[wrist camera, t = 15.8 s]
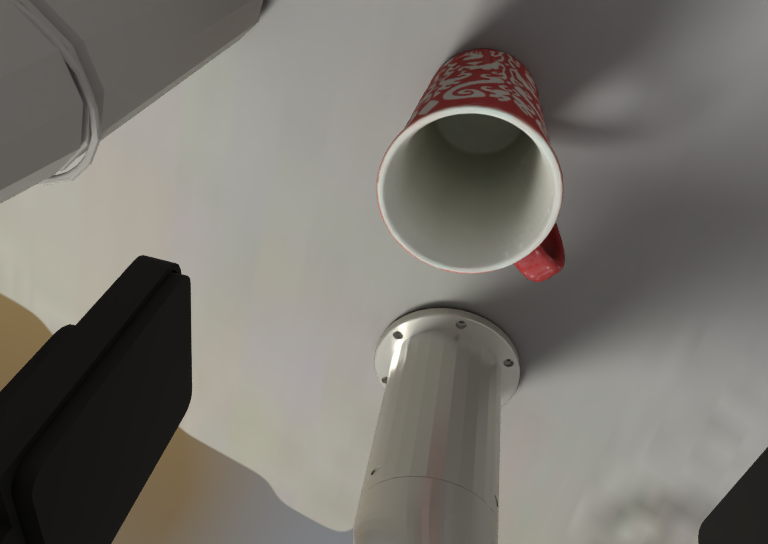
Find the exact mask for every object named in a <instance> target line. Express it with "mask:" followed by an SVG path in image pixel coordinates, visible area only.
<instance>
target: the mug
mask: <svg viewBox="0 0 768 544" xmlns="http://www.w3.org/2000/svg"><path fill="white" fill-rule="evenodd" d="M377 199H378V205H379V209H380V212H381V215H382V218H383V220H384V223H385V224H386V226H387V228H388V229H389V231H390V233H391V234H392V236H393V237H394V238H395V240H396V241H397V242H398V243H399V244H400V245H401V246H402V247H403V248H404V249H405V250H406V251H408V252H409V253H410V254H412V255H413V256H414V257H416V258H417V259H419V260H421V261H423V262H424V263H426V264H428V265H431V266H433V267H436V268H439V269H441V270H445V271H450V272H456V273H483V272H490V271H494V270H498V269H501V268H504V267H507V266H509V265H512V264H515V266H516V267H517V268H518V269H519V271H520V272H521V273H522V274H523V275H524V276H526V277H527V278H528V279H530V280H532V281H534V282H541V281H544V280H547V279H549V278H550V277H552V276H554V275H555V274H557V273H558V272H559V271H561V269H562V268H563V266H564V262H565V254H564V248H563V243H562V239H561V236H560V233H559V230H558V227H557V224H556V221H557V218H558V216H559V212H560V209H561V204H562V199H563V178H562V172H561V168H560V165H559V162H558V159H557V157H556V155H555V153H554V151H553V149H552V147H551V145H550V140H549V136H548V133H547V129H546V126H545V121H544V117H543V113H542V109H541V105H540V101H539V95H538V91H537V88H536V85H535V83H534V80H533V78H532V76H531V75H530V73H529V71H528V70H527V69H526V68H525V66H524V65H523V64H522V63H521V62H519V61H518V60H517V59H515V58H514V57H512V56H511V55H509V54H506V53H504V52H501V51H498V50H494V49H474V50H469V51H466V52H463V53H461V54H458V55H456V56H455V57H453V58H452V59H450V60H449V61H447V62H446V63H445V64H444V65H443V66H442V67H441V68H440V69H439V70H438V71H437V73H436V74H435V76H434V77H433V79H432V81H431V82H430V84H429V86H428V88H427V90H426V91H425V92H424V94H423V96H422V98H421V99H420V101H419V103H418V105H417V107H416V109H415V110H414V112H413V114H412V116H411V118H410V120H409V121H408V123H407V125H406V126H405V128H404V130H403V131H402V132H401V133H400V134H399V135H398V136H397V137H396V138H395V140H394V141H393V142H392V144H391V145H390V146H389V148H388V150H387V152H386V153H385V156H384V158H383V160H382V163H381V165H380V169H379V172H378V178H377Z"/></svg>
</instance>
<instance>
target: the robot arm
mask: <svg viewBox="0 0 768 544" xmlns="http://www.w3.org/2000/svg"><path fill="white" fill-rule="evenodd" d="M374 369H375V372H376V376H377V379H378V381H379V383H380V384H381V386H382V388H383V389H384V390H385V391H384V396H383V400H382V404H381V409H380V413H379V417H378V421H377V426H376V430H375V434H374V439H373V443H372V447H371V452H370V456H369V460H368V465H367V469H366V473H365V477H364V482H363V486H362V490H361V495H360V499H359V503H358V508H357V512H356V517H355V522H354V544H498V512H499V464H500V415H501V407H503V406H504V405H505V404H506V403H507V402H508V401H509V400H510V399H511V398H512V396H513V394H514V393H515V391H516V389H517V386H518V383H519V380H520V363H519V356H518V354H517V351H516V348H515V346H514V345H513V343H512V342H511V340H510V339H509V337H508V336H507V335H506V334H505V333H504V332H503V331H502V330H501V329H500V328H499V327H497V326H496V325H494V324H493V323H491V322H490V321H489V320H487V319H485V318H482V317H480V316H478V315H476V314H473V313H470V312H466V311H463V310H457V309H450V308H430V309H425V310H419V311H416V312H413V313H410V314H407V315H405V316H403V317H401V318H400V319H398V320H396V321H395V322H394V323H392V324H391V325H390V326H389V327H388V328H387V329H386V330H385V332H384V333H383V335H382V336H381V337H380V340H379V342H378V345H377V348H376V353H375V357H374ZM191 395H192V354H191V284H190V278H189V277H188V276H186V275H182V274H181V269H180V267H179V265H178V264H176V263H172V262H168V261H164V260H160V259H156V258H152V257H148V256H144V255H142V256H139V257H138V258H136V259H135V260H134V261H133V262H132V263H131V265H130V266H129V267H128V268H127V269H126V270H125V271H124V272H123V273H122V275H121V276H120V277H119V278H118V279H117V280H116V281H115V282H114V283H113V285H112V286H111V287H110V288H109V289H108V290H107V291H106V292H105V293H104V294H103V296H102V297H101V298H100V299H99V300H98V301H97V302H96V303H95V304H94V306H93V307H92V308H91V309H90V310H89V311H88V312H87V313H86V314H85V316H84V317H83V318H82V319H81V320H80V321H79V322H78V323H77V324H76V325H71V324H69V325H67V326H64V327H62V328H61V329H59V330H58V331H57V332H56V333H55V334H54V335H53V336H52V337H51V338H50V339H49V340H48V341H47V342H46V343H45V344H44V345H43V346H42V347H41V349H40V350H39V351H38V352H37V353H36V354H35V355H34V356H33V357H32V358H31V359H30V360H29V361H28V363H27V364H26V365H25V366H24V367H23V368H22V369H21V370H20V371H19V372H18V373H17V374H16V375H15V376H14V378H13V379H12V380H11V381H10V382H9V383H8V384H7V385H6V386H5V387H4V388H3V389H2V390H1V392H0V544H111V543H112V541H113V539H114V538H115V536H116V534H117V532H118V531H119V529H120V527H121V525H122V524H123V522H124V520H125V518H126V517H127V515H128V513H129V512H130V510H131V508H132V506H133V505H134V503H135V501H136V499H137V498H138V496H139V494H140V492H141V491H142V489H143V487H144V485H145V483H146V482H147V480H148V478H149V476H150V475H151V473H152V471H153V469H154V468H155V466H156V464H157V462H158V461H159V459H160V457H161V455H162V454H163V452H164V450H165V448H166V446H167V445H168V443H169V442H170V440H171V438H172V436H173V435H174V433H175V431H176V429H177V428H178V426H179V424H180V422H181V421H182V419H183V417H184V415H185V413H186V411H187V409H188V407H189V404H190V400H191ZM698 543H699V544H768V447H767V448H766V450H765V451H764V452H763V453H762V454H761V455H760V457H759V458H758V459H757V460H756V461H755V462H754V463H753V465H752V466H751V467H750V468H749V469H748V470H747V472H746V473H745V474H744V475H743V476H742V477H741V479H740V480H739V481H738V482H737V483H736V484H735V485H734V487H733V488H732V489H731V490H730V491H729V492H728V494H727V495H726V496H725V497H724V498H723V499H722V500H721V502H720V503H719V504H718V505H717V506H716V507H715V509H714V510H713V511H712V512H711V513H710V514H709V515H708V517H707V518H706V519H705V520H704V521H703V523H702V524H701V527H700V529H699V535H698Z"/></svg>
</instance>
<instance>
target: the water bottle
mask: <svg viewBox="0 0 768 544" xmlns="http://www.w3.org/2000/svg"><path fill="white" fill-rule="evenodd" d="M262 4H263V0H0V203H2V202H4V201H6V200H8V199H10V198H12V197H13V196H15V195H17V194H19V193H21V192H23V191H25V190H27V189H28V188H30V187H32V186H34V185H36V184H39V185H50V184H55V183H61V182H66V181H71V180H74V179H75V178H76V177H77V176H79V175H80V174H81V173H82V172H83V171H84V170H85V169H86V168H87V167H88V166H89V165H90V164H91V163H92V161H93V158H94V155H95V153H96V150H97V148H98V145H99V142H100V141H101V140H102V139H104V138H105V137H106V136H108V135H109V134H110V133H112V132H113V131H115V130H116V129H117V128H119V127H120V126H121V125H123V124H124V123H126V122H127V121H128V120H130V119H131V118H132V117H134V116H135V115H137V114H138V113H139V112H141V111H142V110H143V109H145V108H146V107H148V106H149V105H150V104H152V103H153V102H154V101H156V100H157V99H159V98H160V97H161V96H163V95H164V94H165V93H167V92H168V91H170V90H171V89H172V88H174V87H175V86H177V85H178V84H179V83H181V82H182V81H183V80H185V79H186V78H188V77H189V76H190V75H192V74H193V73H194V72H196V71H197V70H199V69H200V68H201V67H203V66H204V65H205V64H207V63H208V62H210V61H211V60H212V59H214V58H215V57H216V56H218V55H219V54H221V53H222V52H223V51H225V50H226V49H227V48H229V47H230V46H232V45H233V44H234V43H236V42H237V41H238V40H240V39H241V38H242V37H243V36H244V35H245V34H246V33H247V32H248V31H249V30H250V29H251V28H252V27H253V26H254V25H255V24H256V23H257V22H258V21H259V17H260V12H261V8H262ZM86 151H87V152H86ZM84 152H86V154H85V156H84V158H83V159H82V160H81V161H80V162H79V164H78V165H77V166H75V167H74V168H72V169H71V170H70V171H68V172H65V173H62V174H59V175H55V174H56V173H57V172H58V171H63V170H64V169H66V168H67V167H68V166H69V165H70V164H71V163H72V162H73V161H74V160H75V159H76V158H77V157H79V156H80V155H82V154H83V153H84Z"/></svg>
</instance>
